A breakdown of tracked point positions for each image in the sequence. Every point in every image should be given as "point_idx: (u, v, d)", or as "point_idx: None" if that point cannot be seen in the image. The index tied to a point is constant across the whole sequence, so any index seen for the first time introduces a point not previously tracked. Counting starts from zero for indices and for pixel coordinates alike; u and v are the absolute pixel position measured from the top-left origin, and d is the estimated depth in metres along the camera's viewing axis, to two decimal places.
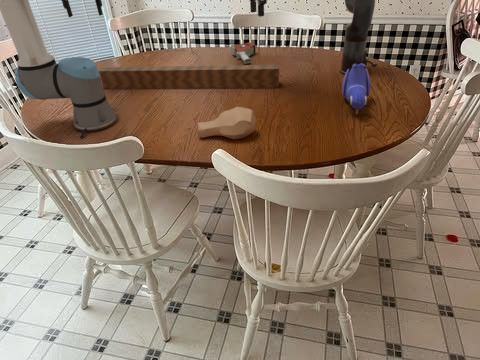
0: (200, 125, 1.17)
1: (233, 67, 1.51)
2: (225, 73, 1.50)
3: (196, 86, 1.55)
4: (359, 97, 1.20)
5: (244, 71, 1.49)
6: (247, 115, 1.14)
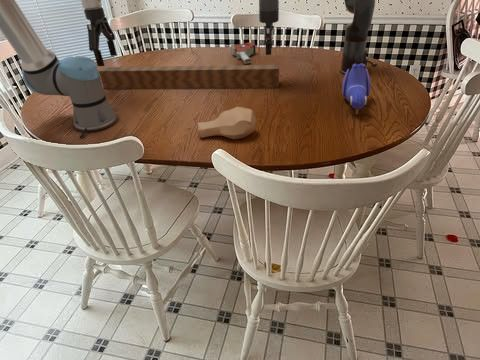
0: (200, 125, 1.17)
1: (233, 67, 1.51)
2: (225, 73, 1.50)
3: (196, 86, 1.55)
4: (359, 97, 1.20)
5: (244, 71, 1.49)
6: (247, 115, 1.14)
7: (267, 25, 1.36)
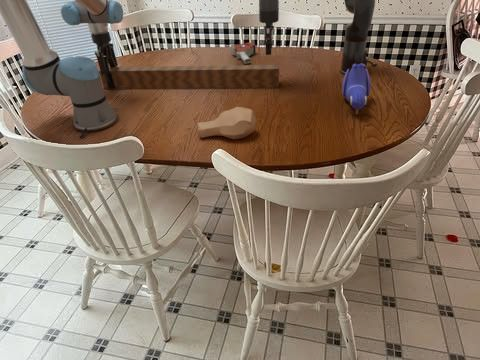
0: (200, 125, 1.17)
1: (233, 67, 1.51)
2: (225, 73, 1.50)
3: (196, 86, 1.55)
4: (359, 97, 1.20)
5: (244, 71, 1.49)
6: (247, 115, 1.14)
7: (267, 25, 1.36)
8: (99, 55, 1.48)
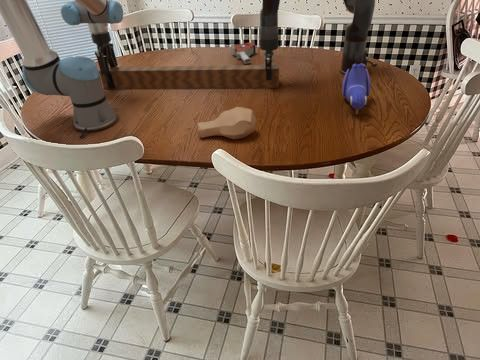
0: (200, 125, 1.17)
1: (233, 66, 1.51)
2: (225, 73, 1.50)
3: (196, 86, 1.55)
4: (359, 97, 1.20)
5: (244, 71, 1.49)
6: (247, 115, 1.14)
7: (267, 52, 1.42)
8: (99, 55, 1.48)
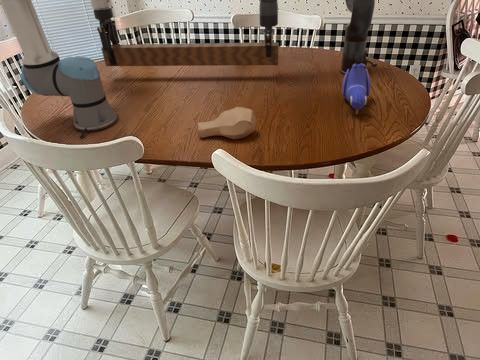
0: (200, 125, 1.17)
1: (233, 44, 1.54)
2: (225, 50, 1.53)
3: (197, 63, 1.58)
4: (359, 97, 1.20)
5: (244, 48, 1.51)
6: (247, 115, 1.14)
7: (267, 29, 1.45)
8: (101, 31, 1.50)
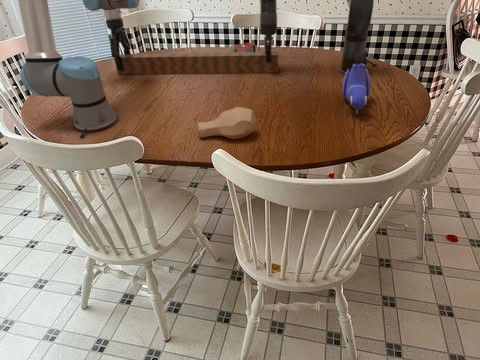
0: (200, 125, 1.17)
1: (236, 53, 1.66)
2: (229, 60, 1.65)
3: (202, 71, 1.70)
4: (359, 97, 1.20)
5: (246, 57, 1.64)
6: (247, 115, 1.14)
7: (267, 36, 1.56)
8: (112, 37, 1.61)
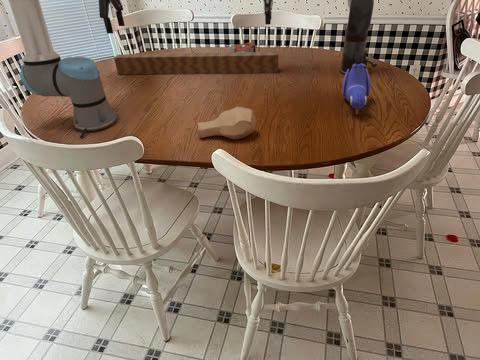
0: (200, 125, 1.17)
1: (236, 53, 1.66)
2: (229, 60, 1.65)
3: (202, 71, 1.70)
4: (359, 97, 1.20)
5: (246, 57, 1.64)
6: (247, 115, 1.14)
7: None
8: None
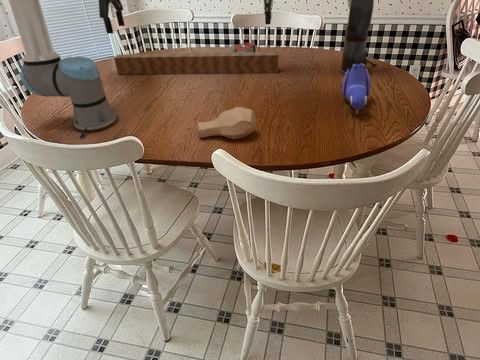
0: (200, 125, 1.17)
1: (236, 53, 1.66)
2: (229, 60, 1.65)
3: (202, 71, 1.70)
4: (359, 97, 1.20)
5: (246, 57, 1.64)
6: (247, 115, 1.14)
7: None
8: None
